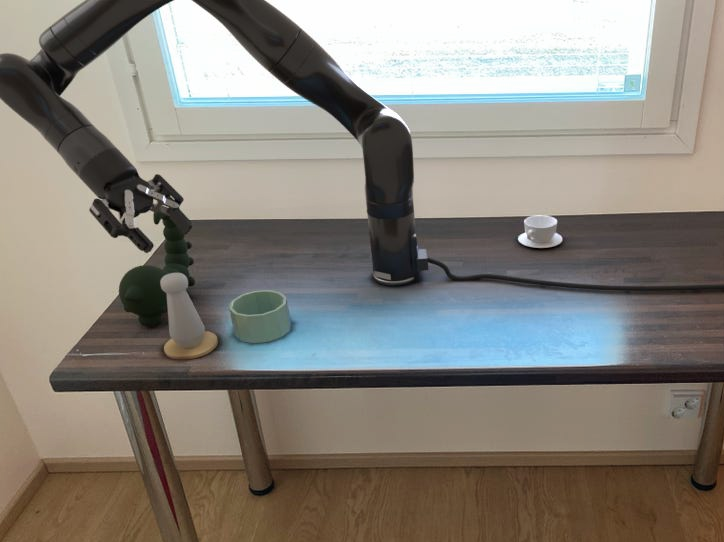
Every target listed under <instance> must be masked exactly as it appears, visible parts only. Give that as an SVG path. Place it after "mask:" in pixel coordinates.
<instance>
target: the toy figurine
mask: <svg viewBox="0 0 724 542" xmlns="http://www.w3.org/2000/svg"><path fill="white" fill-rule="evenodd" d="M152 217H153V223H154V225H156V226H158V225H159V224H160V222H162V225H163V226H164V228H163V231H162V235H163V237H164V239H165V242H164V250H165V253H166V254H165V255H164V264H165V265H164V266H163V268H160V267H158V266H155V265H151V264H149V265H148V264H143V265H138V266H135V267H133V268H131V269H129V270H128V271H127V272H125V273H124V275H123V276H122V277H121V280H120V282H119V285H118V296H119V299H120V302H121V304H122V305H123V309H124V311H125V312H126V313H131V314H134V315H135V316H138V318H137V319H138V320H137V321H138V322H139V324H140V325H142V326H143V327H146V328H154V327H155V328H156V327H158V326H161V324H162V323H163V321H164V316H163V314H164V313H166V312H168V306H167V293H166V292H164V291H163V290H162V288H161V284H160V281H161V279H162V277H164V276H165V275H167V274H171V273H182V274H184V275H185V276H186V277H187V279H188V288H190V287H194V285H195V284H196V279H195V277H193V276H190V270H189V269H188V268H189V267H190V266H193V265H194V263H195V260H194V258H193V257H191V256H189V254H188V253H187V252H188V250H190V249H192V247H193V244H192V242H190V241H186V240H185V235H187V234H188V233H186V234H184V233H183V232H182V231H181V230H180V229H179V228H178V227H177V226H176V225H175V223H174V222H173V221H172V220H171V219H170V216H168V215H166V214H163V213H160V212H157V213H155V212H153V215H152ZM161 220H162V221H161ZM188 288H186V291H187V293H188V295H189V297H190V299H191V297H192V292H191V291H190V290H189V289H188Z"/></svg>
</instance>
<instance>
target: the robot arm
mask: <svg viewBox="0 0 724 542" xmlns="http://www.w3.org/2000/svg"><path fill="white" fill-rule="evenodd" d="M174 1H175V0H83V1H82V2H80V3H79V4H77V5H76V6H75V7H73V8H72V9H70V10H69V11H67V12H66V13H65V14H64V15H63V16H61V17H60V18H58V19H57V20H56V21H55V22H53V23H52V24H51V25H50V26H48V27H47V28H46V29H45V30H43V32H41V34H40V35H39V37H38V44H39V47H40V50H39V51H38V52H37V53H36V54H35V55H34V56H33V58H31V59H27V58H25V57H23V56H21V55H18V54H15V53H9V52H4V53H3V52H2V53H0V100H1V101H2V102H3V103H4V104H5V105H6V106H7V107H8V108H10V109H11V110H12V111H13V112H14V113H16V114H17V115H18V116H19V117H21V118H22V119H23V120H24V121H25V122H27V123H28V124H29V125H30V126H31V127H33V128H34V129H35V130H36V131H37V132H38V133H40V135H41V136H42V138H44V140H45V141H46V142H47V143H48V144H49V145H50V147H52V148H53V149H54V150H55V152H56V153H57V154H59V156H60V157H61V158H62V159H63V161H64V162H65V164H66V166H68V168H70V170H71V171H72V172H73V173H74V174H75V175H76V176H77V177H78V178H79V179H80V180H81V181H82V182H83V183H84V184H85V186H86V187H87V188H88V189H89V190H90V191H91V192H92V193H93V194H94V195H95V196H96V197H97V198H94V199H93V201H92V203H91V205H90V207H89V208H88V212H89V213H90V214H91V215H92V216H93V218H95V220H96V221H97V222H98V223H99V224H100V225H101V226H102V228H103V229H104V230H105V231H106V232H107V233H108V234H109V236H111V238H113V239H118V237H126V238H127V239H128V240H130V242H131V243H132V244H133V245H134V246H135V247H136V248H137V249H138V250H139V251H141V252H144V253H145V254H148V253H150V252H152V250H153V248H154V246H155V245H154V243H153V241H151V239H150V238H149V237H148V236H147V235H146V234H145V233H144V232H143V231H142V230H141V229H140V228H139V227H138V226H137V227H136V223H135V218H137V217H139V216H140V215H141V214H146V213H148V212H149V211H150V212H153V213H154V212H155V213H157V212H160V213H163V214H166V215H168V216H170V219H171V220H172V221H173V222H174V223H175V225H176V226H177V227H178V228H179V229H180V230H181V231H182V232H183V233H184V234H186V233H187V234H189V232H191V230H192V228H193V224H192V221H191V220H190V218H189V217H188V216H187V215H186V214H185V213H184V212H183V211H182V209H180V207H181V205H182V203H183V202H184V200H185V199H184V197H183V196H182V195H181V194H180V193H179V192H178V191H177V190H176V189H175V188H174V187H173V186H172V185H171V184H170V183H169V182H168V181H167V180H166V179H165V178H164V177H163V176H162V175H160V174H159V173H156V174H154V176H153V177H152V179H149V180H145V179H143V178H142V177H141V176H140V175H139V173H138V169H137V168H136V167H135V166H134V165H133V163H132V162H131V161H130V160H129V159H128V158H127V157H126V156H125V154H123V153H122V152H121V151H120V149H119V148H118V147H117V146H116V145H115V144H114V143H113V141H111V139H109V138H108V137H107V136H106V135H105V134H104V133H103V132H101V131H100V130H99V129H98V127H96V126H95V125H94V124H93V122H91V120H90V119H89V118H88V117H87V116H85V114H84V113H83V112H82V111H81V110H80V109H79V108H78V107H76V105H74V104H73V103H71V102H70V101H68V100H67V99H65V98H63V97H62V96H61V95H63V93H64V92H65V91H66V90H67V88H68V87H69V86H70V85H71V84H72V82H73V80H74V79H76V76H77V75H78V74H79V72H81V70H84V69H85V68H86V67H87V66H89V65H90V64H92V63H93V62H94V61H96V60H97V59H98V58H99V57H101V56H102V55H103V54H104V53H105V52H107V51H108V50H109V49H111V48H112V46H115V44H116V43H118V42H119V41H120V40H121V39H122V38H123V37H124V36H125V35H126V34H127V33H128V32H130V31H131V30H132V29H133V28H134V27H135V26H137V25H138V24H139V23H140V22H142V21H143V20H144V19H146V18H147V17H148V16H150V15H151V14H153V13H155V12H156V11H157V10H159V9H161V8H163V7H164V6H166V5H168V4H170V3H172V2H174ZM191 2H193V3H195V4H196V5H197V6H199V7H200V8H201V9H203V10H204V11H205V12H207V13H208V14H210V15H211V16H212V17H213V18H214V19H216V20H217V21H218V22H219V23H220V24H222V26H223V27H224V28H225V29H226V30H227V31H228V32H229V33H230V35H232V36H233V37H234V39H235V40H236V41H237V42H238V43H239V44H240V45H241V46H242V48H243V49H244V50H245V51H246V52H247V53H248V54H249V55H250V56H251V57H252V58H253V59H254V60H255V61H256V62H257V63H258V64H259V65H260V66H262V68H263V69H264V70H265V71H267V72H269V74H271V75H272V76H273V77H274V78H275V79H276V80H278V82H280V83H281V84H282V85H284V86H285V87H286V88H288V89H289V90H291V92H294V93H295V94H297V95H298V96H300V97H301V98H303V99H304V100H306V101H307V102H309V103H310V104H311V103H312V105H315V106H316V107H319V108H320V109H321V110H324V111H325V112H326V113H328V114H329V115H330V116H332V117H333V118H334V119H335V120H336V121H337V122H339V124H341V125H342V126H343V127H344V129H346V130H347V132H349V134H351V136H352V137H353V138H354V139H355V140H356V141H357V142H358V144H359V145H360V147H361V148H362V159H363V167H364V169H363V170H364V177H365V178H364V193H365V194H364V195H365V203H366V204H365V205H366V213H367V224H368V233H369V234H368V235H369V243H370V252H371V253H370V254H371V262H372V276H373V277H372V278H373V280H374V282H376V283H377V284H379V285H383V286H390V287H391V286H392V287H397V286H398V287H399V286H405V285H407V284H410V283H413V282H419V281H420V272H423V271H429V264H431V265H435V266H438V267H439V268H440V269H442V270H443V271H444V273H445V275H446V277H448V278H449V279H451V280H454V281H457V282H458V281H459V282H460V281H461V282H462V281H463V282H464V281H475V280H482V279H483V280H484V279H485V280H486V279H488V280H499V281H507V282H511V283H513V282H514V283H519V284H528V285H538V286H547V287H556V288H566V289H577V290H578V289H579V290H595V291H616V292H617V291H620V292H621V291H622V292H656V291H657V292H658V291H659V292H660V291H661V292H664V291H665V292H667V291H670V292H671V291H702V290H703V291H704V290H705V291H707V290H724V283H718V284H717V283H716V284H715V283H714V284H713V283H712V284H682V285H679V284H678V285H677V284H675V285H614V284H613V285H612V284H609V285H608V284H591V283H589V284H588V283H577V282H576V283H574V282H563V281H554V280H553V281H552V280H543V279H534V278H527V277H526V278H525V277H517V276H511V275H504V274H496V273H495V274H494V273H477V274H472V275H466V276H465V275H464V276H461V275H456V274H453V273H452V272H451V270H450V268H449V267H448V266H447V265H446V264H445V263H444V262H442V261H440V260H437V259H434V258H432V257H429V256H428V252H427V249H426V248H418V239H417V238H418V237H417V231H416V219H415V218H416V217H415V203H414V184H415V169H414V168H415V167H414V149H413V148H414V147H413V138H412V133H411V131H410V128H409V127H408V125H407V124H406V122H405V121H404V120H403V119H402V117H401V116H400V115H399V114H398V113H397V112H395V111H393V110H392V109H391V108H390V107H388V106H386V105H385V104H384V103H382V102H381V101H380V100H378V99H377V98H375V97H374V96H372V95H371V94H370V93H368V92H367V91H365V90H364V89H363V88H362V87H361V86H359V84H357V83H356V82H355V81H354V80H353V79H352V78H351V77H350V76H349V75H348V73H346V72H345V70H344V69H343V68H342V67H341V66H340V64H338V62H337V61H336V60H335V59H334V58H333V57H332V56H331V55H330V54H329V53H328V52H327V51H326V50H325V49H324V47H322V46H321V45H320V44H319V42H317V41H316V40H315V39H314V38H313V37H311V36H310V35H309V34H308V33H307V32H306V31H305V30H304V29H303V28H302V27H301V26H300V25H298V24H297V23H296V22H295V21H294V20H293V19H291V18H290V17H289V16H288V15H286V14H285V13H283V12H282V11H281V10H279V9H278V8H277V7H275V6H274V5H273V4H271V3H270V2H268V1H267V0H191ZM154 201H155V203H154ZM111 210H112V211H114V212H117V216H118V218H117V217H116V216H115V215H114V214H113V212H112V211H111ZM187 234H186V235H187Z"/></svg>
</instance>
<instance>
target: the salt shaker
mask: <svg viewBox="0 0 724 542" xmlns="http://www.w3.org/2000/svg"><path fill="white" fill-rule="evenodd" d="M160 284H161V288H162V290H163V291H164V292H166V293H167V306H168V310H167V319H168V329H169V336H170V339H171V338H172V339H173V340H174V342H175V343H176V344H177V345H178V346H179V347H181V348H183V349H186V348H194V347H196V346H198V345H199V344H201V343H202V341H203V336H204V331H206V330H205V329H206V327H205V325H204V323H203V321H202V319H201V317H200V315H199V313H198V311H197V309H196V307H195V305H194V303H193V301H192V299H191V298H190V297H189V295H188V293H187V291H186V290H187V289H188V288H189V286H188V279H187V277H186V276H185V275H184V274H182V273H171V274H167V275H165V276H164V277H162V279H161V281H160ZM186 288H187V289H186Z"/></svg>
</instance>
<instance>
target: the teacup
mask: <svg viewBox="0 0 724 542" xmlns="http://www.w3.org/2000/svg"><path fill="white" fill-rule="evenodd" d="M523 224H524V231H525V232H523V233H521V234H520V235H518V236H517V237H518V238H517V240H518V242H519V243H520V244H521V245H523V246H526V247H530V248H538V249H545V248H552V247H556V246H558V245H560V244H561V243H562V242H563V237H562V235H560V234H559V233H557V228H558V220H557V218H555V217H553V216H550V215H545V214H538V215H537V214H536V215H531V216H528V217H526V218H525V219H524V220H523Z"/></svg>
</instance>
